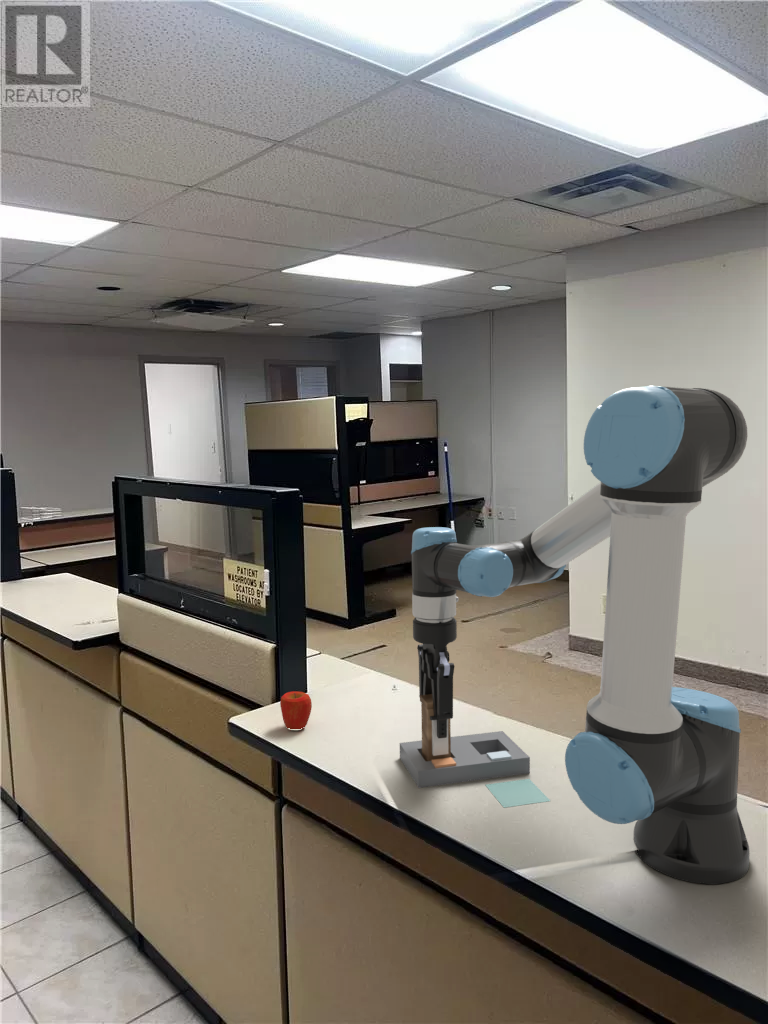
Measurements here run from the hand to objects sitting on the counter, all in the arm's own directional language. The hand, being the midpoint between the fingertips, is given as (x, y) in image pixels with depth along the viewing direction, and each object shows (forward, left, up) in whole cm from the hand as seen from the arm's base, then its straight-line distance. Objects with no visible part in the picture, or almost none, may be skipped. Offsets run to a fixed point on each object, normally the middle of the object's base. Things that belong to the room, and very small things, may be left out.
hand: (436, 748), depth 130 cm
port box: (0, -5, -5) cm, 7 cm away
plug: (0, 0, -3) cm, 3 cm away
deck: (-12, -10, -5) cm, 16 cm away
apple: (+28, +21, -5) cm, 36 cm away
